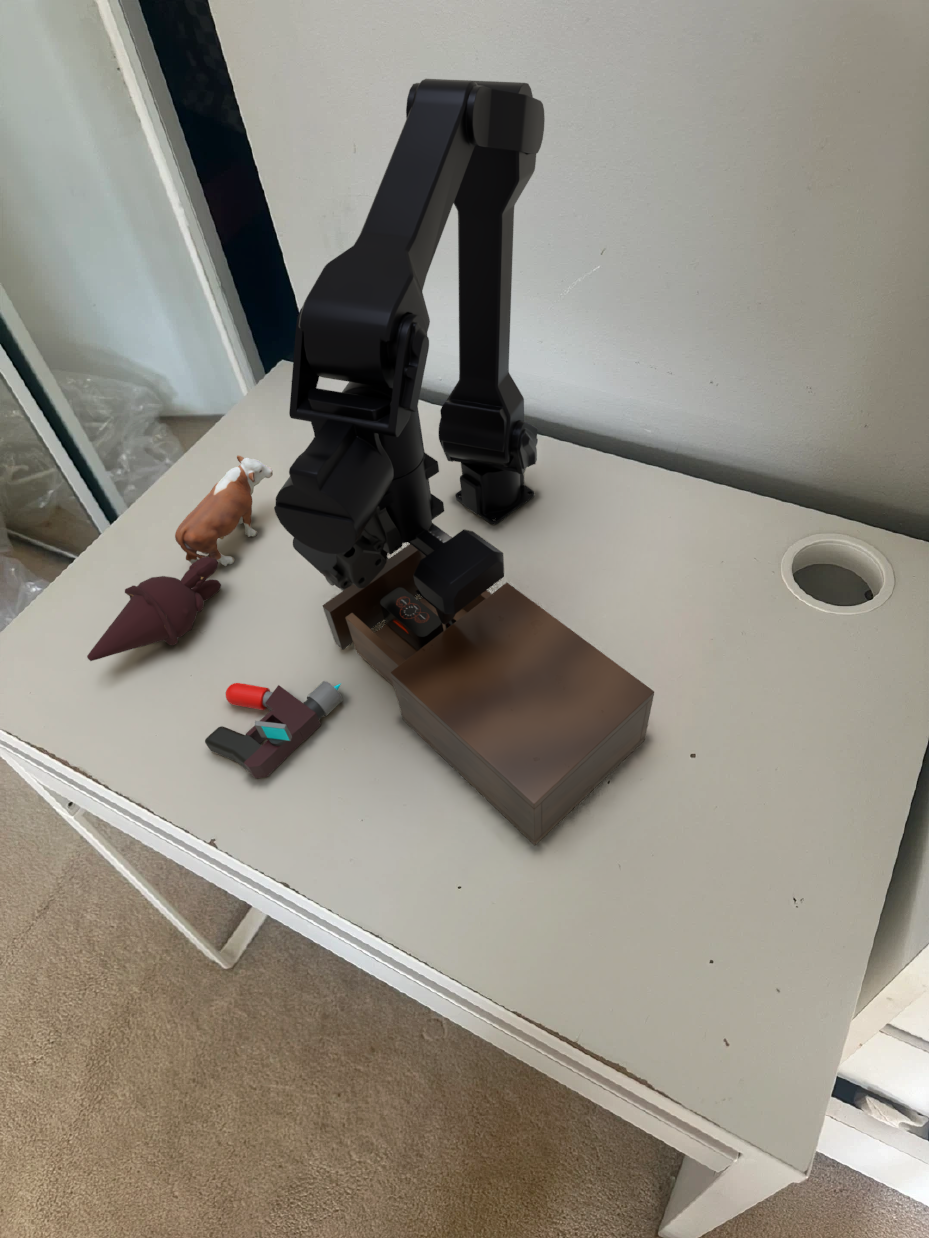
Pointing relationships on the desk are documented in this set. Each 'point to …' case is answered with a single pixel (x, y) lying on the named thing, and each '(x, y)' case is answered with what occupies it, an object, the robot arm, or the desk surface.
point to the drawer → (379, 614)
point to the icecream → (159, 610)
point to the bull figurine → (222, 512)
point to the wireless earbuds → (411, 618)
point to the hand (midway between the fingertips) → (413, 592)
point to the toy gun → (272, 725)
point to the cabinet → (523, 708)
